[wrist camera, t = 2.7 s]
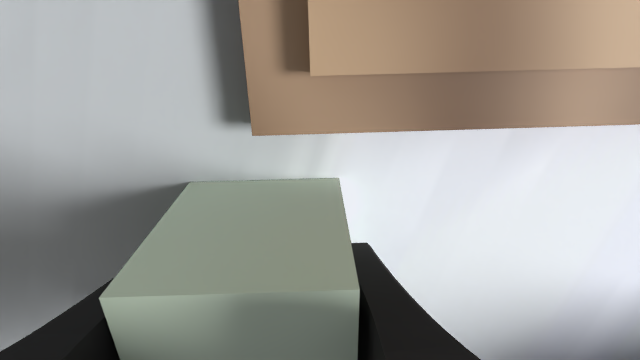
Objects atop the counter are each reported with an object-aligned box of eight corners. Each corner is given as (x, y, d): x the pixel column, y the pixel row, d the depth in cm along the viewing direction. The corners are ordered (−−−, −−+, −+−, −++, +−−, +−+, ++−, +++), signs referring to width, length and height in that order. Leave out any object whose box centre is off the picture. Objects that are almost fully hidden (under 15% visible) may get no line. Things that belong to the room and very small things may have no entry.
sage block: (338, 177, 11) (359, 289, 6) (338, 293, 12) (354, 447, 8) (190, 181, 11) (98, 297, 6) (211, 297, 12) (153, 455, 8)
